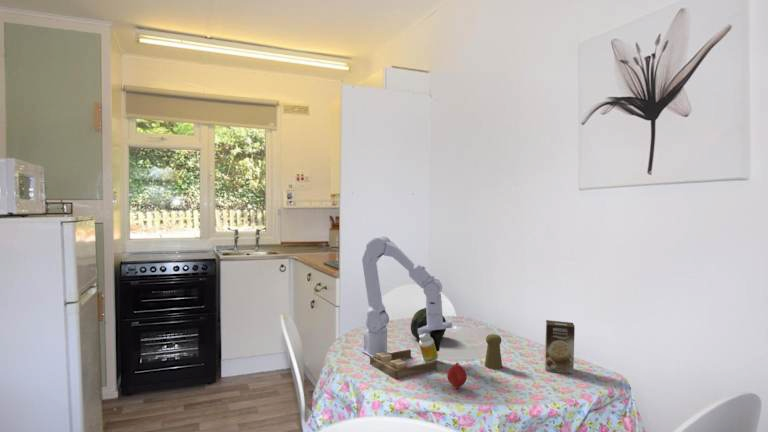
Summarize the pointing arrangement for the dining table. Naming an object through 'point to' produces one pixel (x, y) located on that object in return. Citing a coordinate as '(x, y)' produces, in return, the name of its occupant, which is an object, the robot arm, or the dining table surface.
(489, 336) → the cork
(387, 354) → the block
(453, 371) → the onion
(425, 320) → the squash
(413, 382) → the dining table surface
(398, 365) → the block
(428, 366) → the corral
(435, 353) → the supplement bottle
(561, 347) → the coffee box
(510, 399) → the dining table surface
